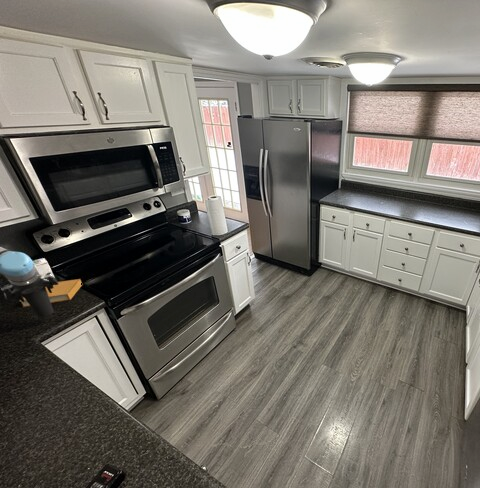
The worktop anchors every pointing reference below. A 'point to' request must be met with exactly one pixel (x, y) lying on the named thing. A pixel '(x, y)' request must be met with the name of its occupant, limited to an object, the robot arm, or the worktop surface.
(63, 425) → the worktop surface
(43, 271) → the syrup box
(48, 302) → the drinking cup
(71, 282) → the book
